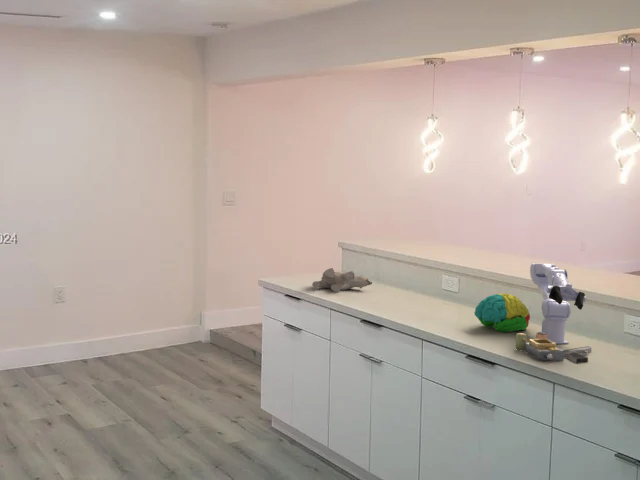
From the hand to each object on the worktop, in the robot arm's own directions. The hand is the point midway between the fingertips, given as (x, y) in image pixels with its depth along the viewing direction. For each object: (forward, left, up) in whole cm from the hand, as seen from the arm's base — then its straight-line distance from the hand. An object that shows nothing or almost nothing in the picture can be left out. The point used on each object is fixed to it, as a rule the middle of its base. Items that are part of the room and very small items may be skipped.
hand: (571, 304), depth 268 cm
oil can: (-10, -14, -19) cm, 25 cm away
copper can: (-11, -5, -19) cm, 23 cm away
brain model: (-42, -8, -19) cm, 47 cm away
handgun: (+1, +5, -20) cm, 20 cm away
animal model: (-130, -58, -19) cm, 144 cm away
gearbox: (+1, -9, -19) cm, 21 cm away
